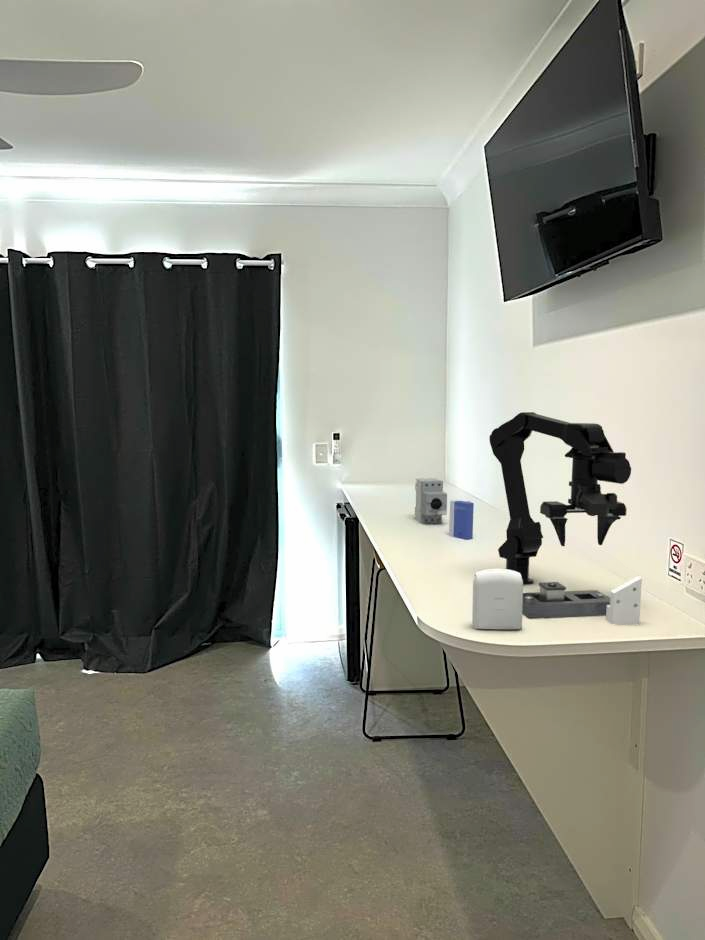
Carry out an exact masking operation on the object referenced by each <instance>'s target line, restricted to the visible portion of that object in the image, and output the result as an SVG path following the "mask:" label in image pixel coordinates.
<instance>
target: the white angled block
mask: <svg viewBox="0 0 705 940" xmlns="http://www.w3.org/2000/svg"><path fill="white" fill-rule="evenodd" d="M642 580H643V578H642V577H641V576H639V575H638V576H636V577H634V578H632V579H630V580H628V581H627V582H625V583H623V584H621V585H619V586H618V587H616V588H614V589H612V590H610V597H609V598H610V605H607V609H606V615H605V620H607V622H609V623H610V624H611V625H612V624H619V625H640V618H641V617H640V616H641V601H642V600H641V598H642V584H643V582H642Z"/></svg>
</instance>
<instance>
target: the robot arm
mask: <svg viewBox="0 0 705 940" xmlns="http://www.w3.org/2000/svg"><path fill="white" fill-rule="evenodd" d="M603 429H604V428H603V426H602V425H601V424H598V423H594V422H593V423H592V422H591V423H589V422H588V423H587V422H582V423H581V422H569V421H565V420H561V419H557V418H553V417H549V416H545V415H541V414H537V413H536V412H534V411H530V412H529V411H527V412H519V413H518V414H516V415H515V416H514V417H513V418H512V419H510V420H508V421H506V422H504V423H502V424H501V425H500V426H498V427H496V428H495V429H493V430H492V431H491V434H490V435H489V438H488V439H489V444H490V446H491V450H492V454H493V456H494V457H495V458H496V459H497V461H498V462H499V463H500V466H501V472H502V478H503V483H504V489H505V490H504V491H505V494H506V496H505V497H506V500H507V506H508V507H507V508H508V513H509V522H508V525H507V528H506V530H505V531H506V540H505V541H504V542H503V543H502V544H501V545H500V546H499V547H498V549H497V551H498V556H499V558H502V559H505V560H506V561H505V569H508V570H513V571H516V572H519V573H520V574H521V576H522V580H523V584H534V580H533V579H531V578H530V576H529V575H530V558H535V557H537V555H538V553H539V549H540V548H541V546H542V544H543V538H544V535H543V534H542V525H541V522H539V521H537V522H536V521H535V520H534V519H533V518H532V517H531V515H530V514H531V513H530V509H529V502H528V497H527V496H528V495H527V491H526V490H527V489H526V484H525V478H524V474H523V468H522V463H521V462H522V458H523V457H522V456H523V455H524V452H525V441H526V440H527V439H528V438H530V437H531V436H532V432H536V433H540V434H543V435H546V436H550V437H553V438H557V439H560V440H561V441H563V442H564V444H565V445H566V446H570V448H571V449H569V451H568V452H566V453H565V454H564V457H565V458H569V459H572V463H571V465H572V466H571V480H569V481H568V486H569V487H571V488H570V498H568V499H567V503H568V504H566V503H563V502H560V501H556V500H554V501H543V502H542V503H541V504H540V508H539V509H540V510H539V512H540V514H542V515H544V516H545V518H547V519H549V520H550V522H551V525H552V526H553V528H554V530H555V533H556V536H557V538H558V542H559V544H560V545H561V547H565V545H566V523H567V521H568V518H567V517H565V516H566V515H567V514H573V513H575V514H577V513H578V514H579V513H580V514H581V513H582V514H583V513H586V515H587V516H590V517H596V516H597V518H596V519H597V520H596V521H597V524H596V525H597V529H596V530H597V545H598V546H602V545H603V544H604V542H605V539H606V537H607V534H608V532H609V529H610V528H611V526H612V524H613V523H614V522H616V521H617V520H620V519H621V517H625V516H627V508H628V507H627V506H626V504H625V503H623V502H621V501H618V495H617V494H616V493H615V492H608V493H602V491H601V489H602V488H601V484H599V482H606V483H613V484H619V485H623V484H625V483H627V482H628V480H629V479H630V477H631V474H632V466H631V464H630V461H629V459H627V458H626V457H627V455H626V452H622V451H621V452H614V449H613V448H612V446H611V444H610V442H609V441H608V438H607V436H606V435H605V432H604V430H603ZM598 481H599V482H598Z"/></svg>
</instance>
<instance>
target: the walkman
mask: <svg viewBox="0 0 705 940" xmlns="http://www.w3.org/2000/svg"><path fill="white" fill-rule="evenodd" d="M448 522H449V525H448V527H449V529H448V530H449V531H448V536H449V537H454V538H457V539H462V540H465V541H466V540H473V539H474V538H473V536H474V535H473V534H474V502H471V501H469V500H467V501H464V500H458V499H451V500H449V521H448Z"/></svg>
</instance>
